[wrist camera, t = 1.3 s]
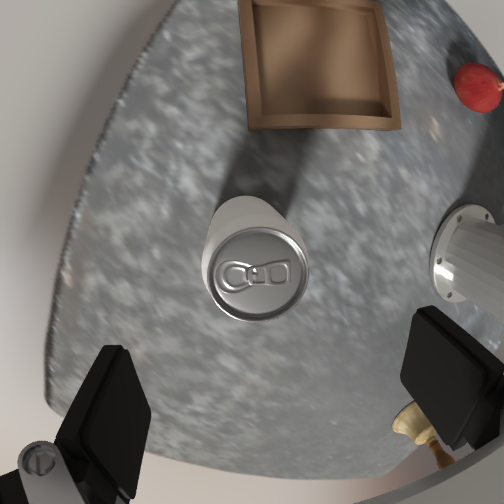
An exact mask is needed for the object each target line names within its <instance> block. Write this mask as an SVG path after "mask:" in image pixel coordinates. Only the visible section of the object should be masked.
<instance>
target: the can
mask: <svg viewBox="0 0 504 504" xmlns="http://www.w3.org/2000/svg"><path fill="white" fill-rule="evenodd" d="M202 275H203V279H204V283H205V285H206V287H207V289H208V291H209V293H210V294H211V296H212V298H213V300H214V301H215V303H216V304H217V305H218V307H219V308H220V309H221V310H223V311H224V312H225V313H226V314H228V315H230V316H231V317H233V318H235V319H238V320H241V321H245V322H253V323H259V322H267V321H271V320H274V319H277V318H279V317H281V316H283V315H285V314H286V313H288V312H289V311H290V310H291V309H293V308H294V307H295V306H296V305H297V303H298V302H299V301H300V299H301V298H302V296H303V294H304V292H305V290H306V287H307V284H308V279H309V261H308V254H307V250H306V247H305V244H304V242H303V240H302V238H301V237H300V235H299V234H298V233H297V231H296V230H295V229H294V228H293V227H292V226H291V225H290V224H289V223H288V222H287V221H286V220H285V219H284V218H283V217H282V216H281V215H280V214H279V213H278V212H277V211H276V210H275V209H274V208H273V207H272V206H271V205H269V204H268V203H267V202H265V201H264V200H262V199H260V198H257V197H253V196H238V197H235V198H232V199H230V200H228V201H226V202H225V203H223V204H222V205H221V206H220V207H219V208H218V209H217V211H216V212H215V214H214V216H213V218H212V220H211V223H210V227H209V230H208V234H207V238H206V242H205V247H204V251H203V257H202Z"/></svg>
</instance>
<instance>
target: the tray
mask: <svg viewBox="0 0 504 504" xmlns="http://www.w3.org/2000/svg"><path fill="white" fill-rule="evenodd" d="M238 11H239V22H240V34H241V46H242V58H243V70H244V82H245V94H246V106H247V118H248V131H253V130H272V129H306V128H331V129H365V130H383V131H392V130H399V129H402V128H401V117H400V107H399V98H398V90H397V82H396V75H395V69H394V63H393V57H392V52H391V46H390V41H389V36H388V32H387V27H386V23H385V19H384V14H383V10H382V6H381V3H379V2H374V1H370V0H238Z"/></svg>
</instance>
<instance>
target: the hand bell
mask: <svg viewBox="0 0 504 504" xmlns="http://www.w3.org/2000/svg"><path fill="white" fill-rule="evenodd" d="M392 428H393V430H394V431H395V432H397V433H404V434H406V435H408V436H409V437H410V438H411V439H412V440H413V441H414V442H415V443H416V444H423V443H426V444H427V445H428V447H429V448H430V450H431V451H432V452H433V454H434V455H435V457H436V460H437V465H438V468H439V470H441V469H443V468H445V467H447V466H449V465H451V464H453V463H455V460H454V459H453V458H452V457H451V456H450V455H448V454H447V453H446V452H445V451H443V449H442V447H441V446H440V444H439V443H438V440H436V438H435V434H436V433H437V432H436V430H435V429H434V427H433V426H432V425H431V423H430V422H429V420H428V419H427V417H426V416H425V415H424V413H423V412H422V410H421V409H420V407H419V406H418V405H417V403H416V402H415V401H414V402H412V403H411V404H409V405H408V406H406V407H405V408H404V409H403V410H402V411H401V412H400V413H399V414H398V415H397V417H396V418H395V420H394V422H393V424H392Z"/></svg>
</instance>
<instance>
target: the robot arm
mask: <svg viewBox="0 0 504 504" xmlns="http://www.w3.org/2000/svg"><path fill="white" fill-rule="evenodd" d="M430 276H431V281H432V284H433V287H434V289H435V290H436V292H437V293H438V294H439V295H440V296H441V297H442V298H444V299H445V300H447V301H449V302H453V303H454V302H462V301H465V300H469V301H470V302H472V303H473V304H475V305H476V306H478V307H479V308H480V309H482V310H483V311H485V312H486V313H488V314H489V315H490V316H492V317H493V318H494V319H496V320H497V321H499V322H500V323H501V324H503V325H504V227H503V226H500V225H497V224H495V221H494V219H493V217H492V215H491V214H490V212H489V211H487V210H486V209H485V208H484V207H481V206H479V205H475V204H465V205H462V206H460V207H458V208H457V209H455V210H454V211H453V212H452V213H451V214H450V215H448V217H447V218H446V219H445V221H444V222H443V223H442V225H441V227H440V229H439V231H438V232H437V235H436V238H435V240H434V243H433V247H432V250H431V257H430ZM503 373H504V364H503V363H502V362H501V361H500V360H499V359H498V358H496V357H495V356H494V355H493V354H492V353H491V352H490V351H489V350H487V349H486V348H485V347H484V346H483V345H482V344H480V343H479V342H478V341H477V340H476V339H474V338H473V337H472V336H471V335H470V334H469V333H467V332H466V331H465V330H464V329H462V328H461V327H460V326H459V325H458V324H456V323H455V322H454V321H453V320H451V319H450V318H449V317H448V316H446V315H445V314H444V313H443V312H441V311H440V310H439V309H438V308H436V307H435V306H433V305H430V306H426V307H422V308H419V309H417V311H416V313H415V314H414V315H413V317H412V323H411V328H410V333H409V338H408V343H407V348H406V352H405V357H404V361H403V365H402V369H401V373H400V379H401V382H402V384H403V385H404V387H405V388H406V389H407V391H408V392H409V394H410V395H411V396H412V398H413V399H414V400H415V402H416V403H417V405H418V406H419V407H420V409H421V410H422V412H423V413H424V415H425V416H426V417H427V419H428V420H429V422H430V423H431V425H432V426H433V427H434V429H435V430H436V432H437V433H438V435H439V436H440V438H441V439H442V440H443V442H444V443H445V444H446V445H449V446H450V447H451V448H452V450H453V451H455V450H456V449H458V448H460V447H462V446H464V445H465V444H466V443H467V442H468V443H469V444H470V448H469V455H467V456H465V457H464V458H462V459H460V460H458V461H456V462H455V463H453V464H451V465H449V466H447V467H445V468H443V469H441V470H439V471H437V472H435V473H433V474H431V475H429V476H426V477H424V478H422V479H420V480H417V481H415V482H413V483H411V484H408V485H406V486H403V487H401V488H398V489H396V490H393V491H390V492H388V493H385V494H382V495H379V496H376V497H373V498H370V499H367V500H364V501H361V502H357V503H354V504H504V375H503ZM150 421H151V410H150V407H149V404H148V402H147V399H146V397H145V394H144V392H143V389H142V387H141V384H140V381H139V379H138V376H137V373H136V370H135V367H134V365H133V362H132V359H131V356H130V353H129V351H128V350H127V349H124V348H123V347H122V346H121V345H104V346H103V347H102V349H101V351H100V352H99V354H98V356H97V358H96V360H95V361H94V363H93V365H92V367H91V369H90V370H89V372H88V374H87V376H86V378H85V380H84V381H83V383H82V385H81V387H80V389H79V391H78V393H77V395H76V397H75V399H74V400H73V402H72V404H71V406H70V408H69V410H68V412H67V414H66V416H65V418H64V420H63V422H62V424H61V427H60V429H59V431H58V433H57V435H56V439H55V441H54V443H51V442H48V441H36V442H32V443H31V444H29V445H27V446H26V447H25V448H24V449H23V450H22V451H21V453H20V454H19V457H18V469H16V470H14V471H12V472H9V473H7V474H4V475H2V476H0V504H129V502H130V499H134V498H135V495H136V490H137V485H138V479H139V474H140V469H141V463H142V458H143V454H144V449H145V444H146V439H147V435H148V430H149V425H150Z"/></svg>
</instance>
